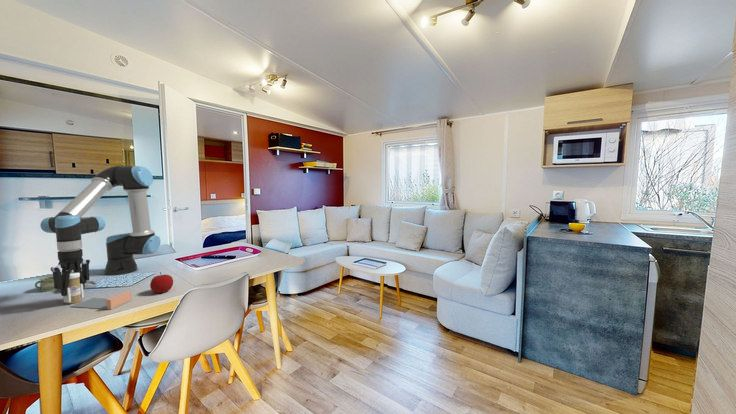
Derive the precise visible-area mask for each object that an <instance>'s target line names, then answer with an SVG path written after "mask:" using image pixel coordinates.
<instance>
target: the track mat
mask: <svg viewBox="0 0 736 414" xmlns="http://www.w3.org/2000/svg"><path fill="white" fill-rule="evenodd" d="M131 301H132V291H125V292H123V293H120V294H118V295H115V296H113V297H110V298H102V297H91V298H89V299H86V300H82V301H80V302H77V303H74V304H72V305H70V308H79V309H96V310H97V309H98V310H113V309H116V308H118V307H120V306H122V305H123V306H124V305H125V304H128V303H130V302H131Z"/></svg>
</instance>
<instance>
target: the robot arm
mask: <svg viewBox="0 0 736 414" xmlns="http://www.w3.org/2000/svg"><path fill="white" fill-rule="evenodd" d="M90 181H91V182H90V183H89V184H88V185H87V186H86V187H85V188H84V189H83V190H82V191H81V192H79V193H78V194H77V196H75V197H74V198H73V199H72V200H71V201H70V202H69V203H68V204H66V205H65V207H64V208H63V209H61V210H60V211H59V213H57V214H55V216H51V217H46V218H43V219H42V221H40V224H39V225H40V229H41V230H42V231H43V232H45V233H47V234H48V233H49V234H55V237H56V238H55V239H56V248H57V260H58V261H59V262H58V265H56V266H54V267H52V266H51V268H50V271H51V272H52V276H53V280H54V288H55V289H59V290H60V295H61V296H62V298H63V303H67V302H68V303H69V302H71V294H70V288H68V283H69V277H70V273H74V272H77V273H80V277H79V278H80V289H81V299H83V298H84V297H85V294H84V292H85V291H84V290H86V289H85V288H86V287H85V283H86V282H87V281H88V280H89V278H90V262H91V260H90V259H83V256H84V255H83V253H84V252H83V249H82V248H83V241H82V235H86V234H92V233H97V232H101V231H102V230H105V229H104V228H105V227H106V220H105V219H104V218H103V217H101V216H87V217H86V216H84V215H85V214H86V213H87V212H88V211H89V210H90V209H91V208H92V207H93V206H94V205H95V204H96V203H97V202H98V201H99V200H100V199H101V198H102V197H103V195H105V193H107V192H109V191H111V190H113V188H115V187H118V186H122V189H123V191H125V192H126V193H127V199H128V206H129V212H130V213H129V214H130V219H131V220H130V221H131V228H132V231H131V232H127V233H126V232H125V233H119V234H114V235H113V234H112V235H109V236H107V237H106V240H105V241H106V242H105V245H106V246H105V247H106V256H107V258H106V259H107V262H106V265H105V268H104V270H103V271H104V275H106V276H115V275H117V274H118V275H123V274H124V275H125V274H127V273H133V272H135V271H137V270H138V264H137V262H136V260H135V258H134V255H135V256H136V255H138V256H139V255H144V256H147V255H153V254H155V253H156V252H157V251H158V250H159V248H160V246H161V238H160V236H159V235H156V233H155V230H153V229H151V228H152V227H151V220H150V210H149V203H148V196H147V191H148V190H150V186H151V185H152V184H153V182H154V178H153V174H152V172H151V171H150V169H148V168H147V167H145V166H140V165H139V166H138V165H136V166H135V165H113V166H110V167H108V168H105V169H103V170H101V171H100V172H99V173H97V174H96V175H94V176H93V177H92V178H91V180H90ZM83 216H84V217H83ZM72 271H73V272H72ZM61 275H62V277H61ZM118 275H117V276H118ZM68 303H67V304H68Z"/></svg>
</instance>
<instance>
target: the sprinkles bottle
mask: <svg viewBox="0 0 736 414" xmlns="http://www.w3.org/2000/svg"><path fill="white" fill-rule="evenodd" d="M79 277H80V273H77V272H74V271H73V272H71V273H70V277H69V283H68V288H70V294H71V302H69V303H68V302H66V304H68V305H70V304H71V305H74V304H78V303H81V302H82V298H81V289H80V278H79Z"/></svg>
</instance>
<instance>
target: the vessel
mask: <svg viewBox="0 0 736 414" xmlns="http://www.w3.org/2000/svg"><path fill="white" fill-rule="evenodd" d="M61 277H62V274H61ZM38 284H39V286H38ZM34 287H35V288H36V290H38V291H40V290H42V292H44V293H48V292H55V291H59V290H60V289H55V288H54V280H53V275H48V276H44V277H41V278H40V279H39V280H38V281H35V284H34Z"/></svg>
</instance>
